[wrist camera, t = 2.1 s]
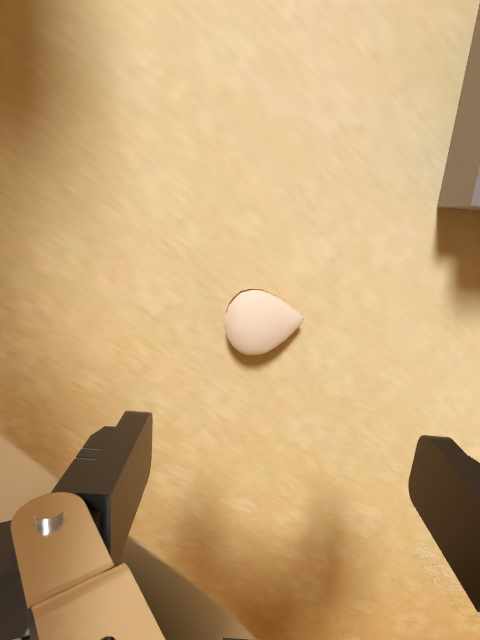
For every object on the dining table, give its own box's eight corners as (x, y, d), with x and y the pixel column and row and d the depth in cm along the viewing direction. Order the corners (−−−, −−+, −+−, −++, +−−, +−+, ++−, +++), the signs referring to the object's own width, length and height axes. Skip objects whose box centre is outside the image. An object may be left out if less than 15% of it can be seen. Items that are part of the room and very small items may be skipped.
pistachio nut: (223, 287, 25) (221, 295, 23) (299, 282, 25) (305, 289, 23) (228, 349, 26) (227, 363, 24) (301, 344, 26) (307, 358, 24)
